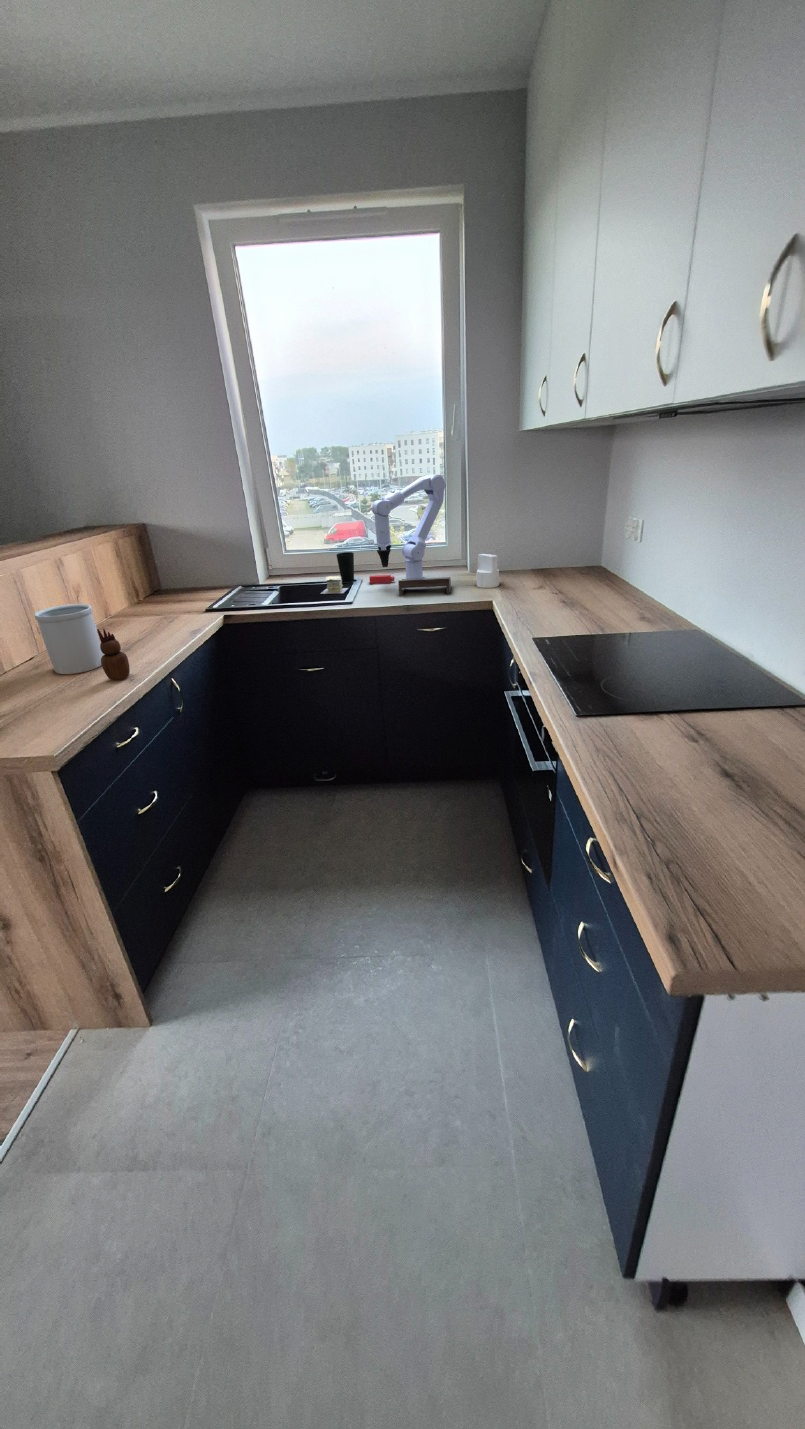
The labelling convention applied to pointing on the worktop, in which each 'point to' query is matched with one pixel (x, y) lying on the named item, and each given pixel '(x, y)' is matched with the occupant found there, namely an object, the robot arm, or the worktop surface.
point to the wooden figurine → (113, 658)
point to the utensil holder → (70, 638)
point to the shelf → (424, 583)
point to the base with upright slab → (487, 571)
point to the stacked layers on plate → (334, 586)
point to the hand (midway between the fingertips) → (385, 565)
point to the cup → (346, 566)
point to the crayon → (381, 579)
